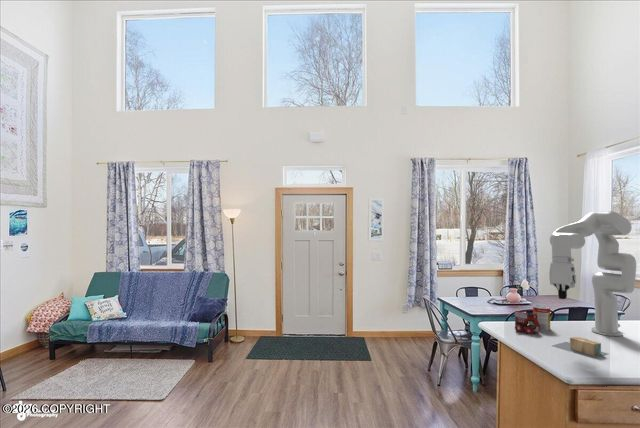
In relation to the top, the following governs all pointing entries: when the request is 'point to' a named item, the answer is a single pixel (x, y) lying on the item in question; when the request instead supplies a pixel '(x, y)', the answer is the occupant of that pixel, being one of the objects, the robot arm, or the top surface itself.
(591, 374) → the top surface
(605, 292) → the robot arm
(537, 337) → the top surface
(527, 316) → the toy fire truck
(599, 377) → the top surface
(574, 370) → the top surface
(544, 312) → the canned food
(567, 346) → the mat
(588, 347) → the oak block
